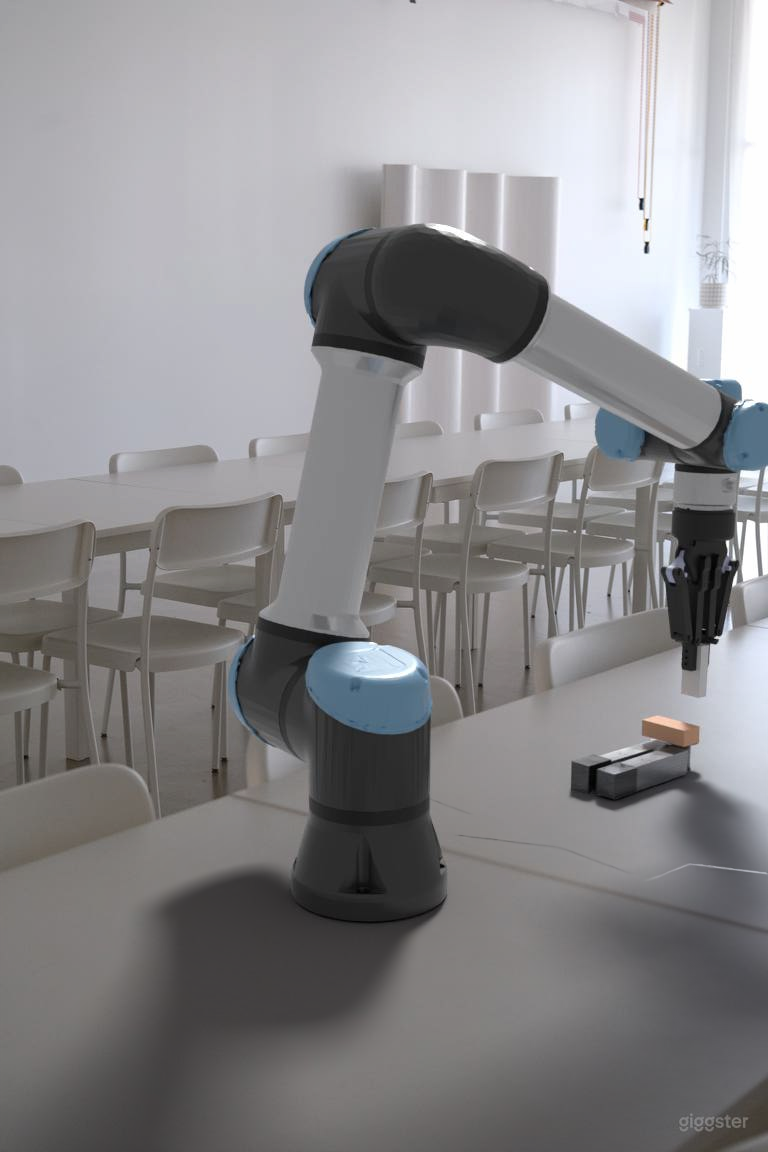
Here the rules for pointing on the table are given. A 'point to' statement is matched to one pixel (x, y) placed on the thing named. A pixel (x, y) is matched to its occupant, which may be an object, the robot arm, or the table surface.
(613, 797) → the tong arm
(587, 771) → the tong fixed
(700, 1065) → the table surface
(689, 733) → the tab
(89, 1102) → the table surface
